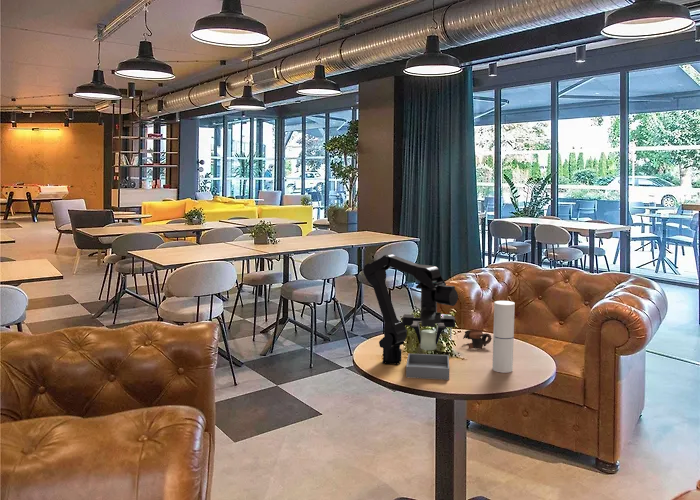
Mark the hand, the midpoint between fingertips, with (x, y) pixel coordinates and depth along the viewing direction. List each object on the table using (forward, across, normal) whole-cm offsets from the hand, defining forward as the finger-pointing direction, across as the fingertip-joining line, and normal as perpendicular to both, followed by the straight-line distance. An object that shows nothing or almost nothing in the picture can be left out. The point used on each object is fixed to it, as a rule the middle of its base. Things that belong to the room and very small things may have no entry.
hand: (428, 343), depth 204 cm
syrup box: (+11, +6, +26) cm, 29 cm away
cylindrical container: (+10, +27, +6) cm, 30 cm away
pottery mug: (+11, +20, +34) cm, 40 cm away
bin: (+10, 0, 0) cm, 10 cm away
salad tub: (+2, 0, 0) cm, 2 cm away
